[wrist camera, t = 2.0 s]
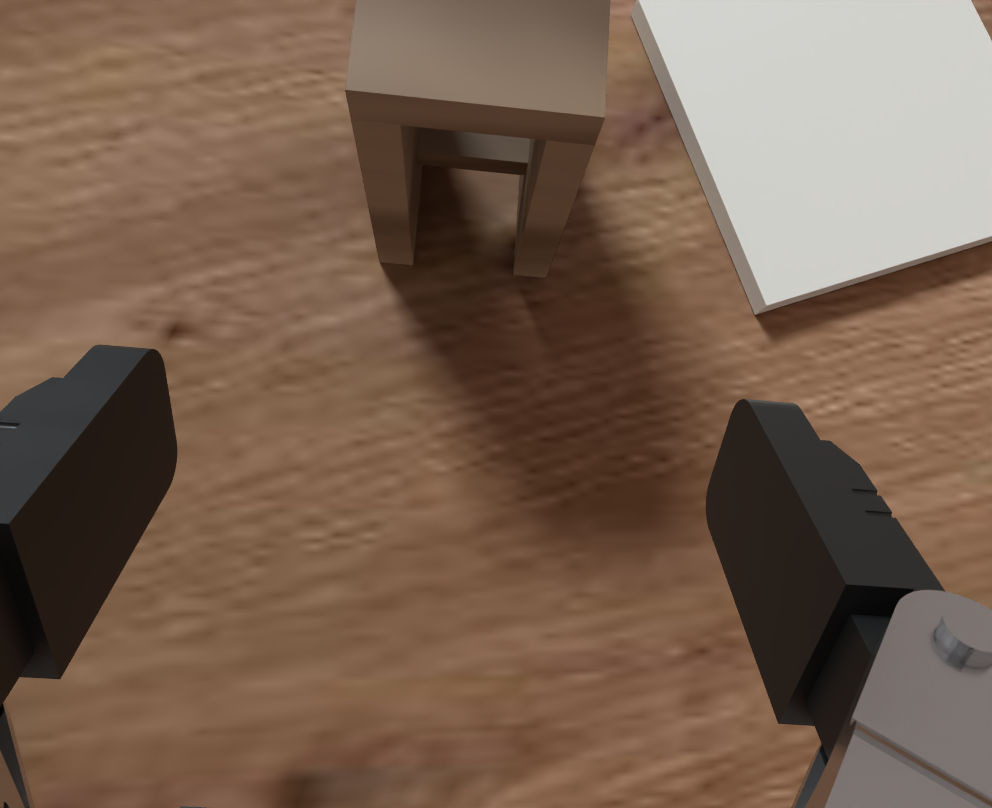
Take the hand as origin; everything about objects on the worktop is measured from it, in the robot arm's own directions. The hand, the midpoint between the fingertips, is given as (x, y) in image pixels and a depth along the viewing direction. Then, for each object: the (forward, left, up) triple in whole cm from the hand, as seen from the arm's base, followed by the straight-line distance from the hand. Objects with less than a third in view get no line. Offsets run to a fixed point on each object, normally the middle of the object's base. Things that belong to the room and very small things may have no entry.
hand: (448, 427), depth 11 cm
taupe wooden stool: (+4, +11, -15) cm, 19 cm away
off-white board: (+19, +10, -15) cm, 26 cm away
